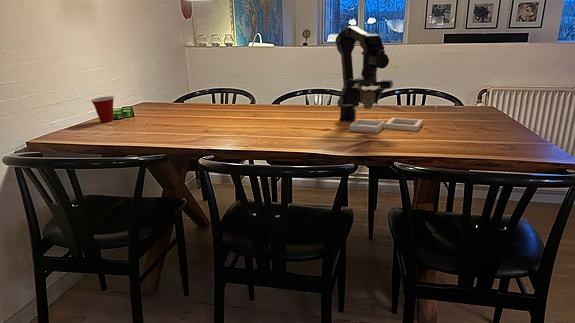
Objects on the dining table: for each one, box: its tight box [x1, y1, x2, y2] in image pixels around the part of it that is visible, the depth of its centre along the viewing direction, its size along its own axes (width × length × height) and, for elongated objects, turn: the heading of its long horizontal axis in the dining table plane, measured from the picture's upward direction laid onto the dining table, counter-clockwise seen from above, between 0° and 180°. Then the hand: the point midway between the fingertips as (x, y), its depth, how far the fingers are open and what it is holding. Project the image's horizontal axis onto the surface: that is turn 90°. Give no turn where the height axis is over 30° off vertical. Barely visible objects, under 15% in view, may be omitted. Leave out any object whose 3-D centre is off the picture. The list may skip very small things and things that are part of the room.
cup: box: [360, 88, 377, 110], centre depth 167 cm, size 8×7×8 cm
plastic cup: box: [90, 95, 115, 124], centre depth 197 cm, size 11×11×12 cm
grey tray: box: [348, 118, 386, 134], centre depth 171 cm, size 12×12×2 cm
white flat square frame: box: [384, 117, 423, 132], centre depth 174 cm, size 14×14×2 cm
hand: (368, 104), depth 168 cm, fingers closed on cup, 6 cm apart
